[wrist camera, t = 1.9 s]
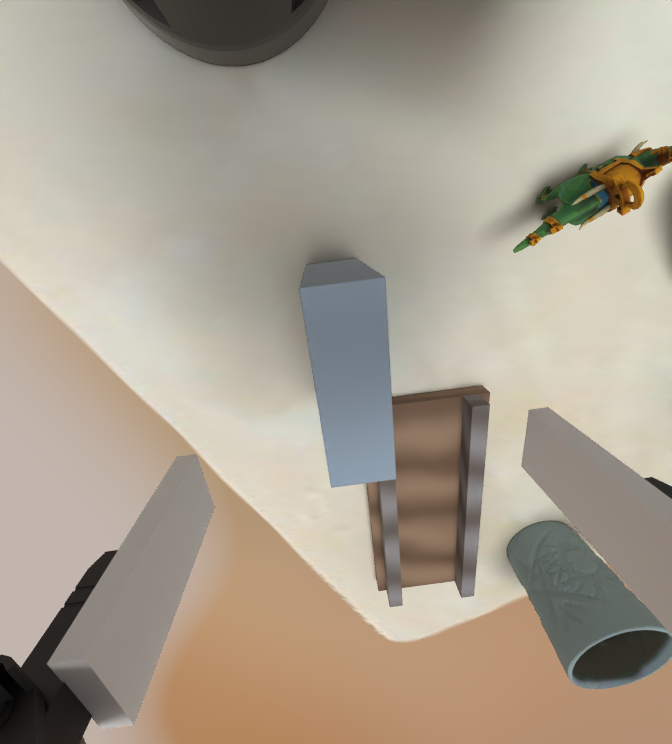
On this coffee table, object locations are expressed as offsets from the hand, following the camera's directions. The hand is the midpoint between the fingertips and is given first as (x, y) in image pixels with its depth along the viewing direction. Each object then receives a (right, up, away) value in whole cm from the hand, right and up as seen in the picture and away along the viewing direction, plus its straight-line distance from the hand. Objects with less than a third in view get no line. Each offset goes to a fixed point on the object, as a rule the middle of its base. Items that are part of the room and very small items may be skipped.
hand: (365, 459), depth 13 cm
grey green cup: (+25, -18, +28) cm, 41 cm away
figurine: (+15, +17, +12) cm, 26 cm away
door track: (+8, -10, +23) cm, 27 cm away
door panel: (-1, +7, +15) cm, 17 cm away
